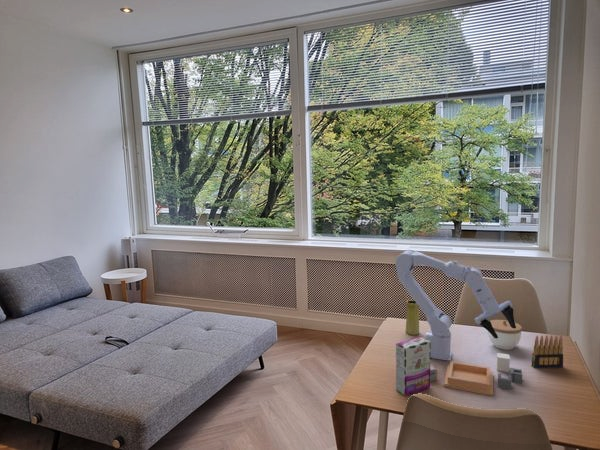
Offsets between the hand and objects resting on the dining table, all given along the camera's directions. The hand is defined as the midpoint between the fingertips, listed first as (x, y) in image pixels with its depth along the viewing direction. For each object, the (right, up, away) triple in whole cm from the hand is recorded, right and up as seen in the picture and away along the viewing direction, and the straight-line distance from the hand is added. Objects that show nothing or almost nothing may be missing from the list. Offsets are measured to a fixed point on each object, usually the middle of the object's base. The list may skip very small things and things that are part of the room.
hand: (505, 332), depth 152 cm
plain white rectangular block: (0, -13, +1) cm, 13 cm away
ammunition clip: (+16, -13, +2) cm, 21 cm away
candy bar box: (-37, -16, -12) cm, 42 cm away
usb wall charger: (-30, -15, -3) cm, 33 cm away
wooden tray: (-16, -15, -7) cm, 23 cm away
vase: (-24, -9, +36) cm, 45 cm away
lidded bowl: (+9, -11, +21) cm, 25 cm away
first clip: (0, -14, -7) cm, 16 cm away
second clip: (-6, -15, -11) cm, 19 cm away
